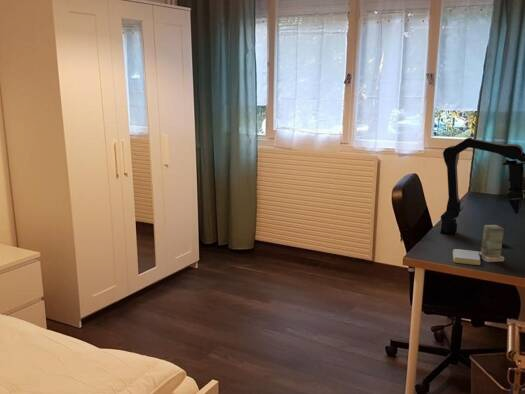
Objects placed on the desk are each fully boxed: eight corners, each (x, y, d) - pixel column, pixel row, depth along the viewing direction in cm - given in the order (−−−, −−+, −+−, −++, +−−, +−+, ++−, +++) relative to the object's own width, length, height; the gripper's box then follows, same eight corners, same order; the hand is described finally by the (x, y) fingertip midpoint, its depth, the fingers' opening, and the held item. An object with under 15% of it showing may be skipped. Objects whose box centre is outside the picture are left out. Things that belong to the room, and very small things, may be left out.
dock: (453, 262, 188) (454, 257, 187) (452, 253, 197) (453, 248, 197) (480, 265, 185) (480, 260, 184) (477, 256, 194) (478, 251, 194)
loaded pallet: (476, 255, 195) (480, 224, 192) (493, 254, 196) (496, 223, 193) (487, 262, 188) (491, 229, 185) (503, 261, 189) (507, 229, 186)
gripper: (536, 177, 192) (538, 216, 195) (539, 170, 208) (541, 206, 210) (505, 179, 198) (507, 216, 201) (510, 171, 214) (512, 206, 216)
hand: (518, 211), depth 207 cm, fingers open, 9 cm apart
